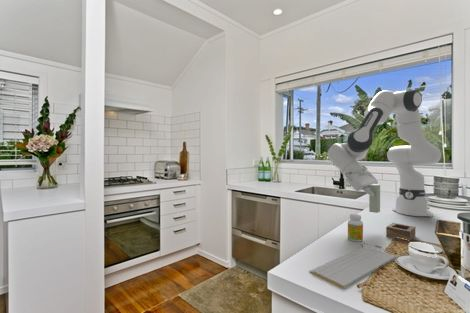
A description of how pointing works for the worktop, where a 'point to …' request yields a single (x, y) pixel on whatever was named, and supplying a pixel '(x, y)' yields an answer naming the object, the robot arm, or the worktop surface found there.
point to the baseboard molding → (352, 266)
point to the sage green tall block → (374, 199)
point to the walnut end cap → (400, 231)
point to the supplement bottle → (355, 228)
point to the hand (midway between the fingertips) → (376, 195)
